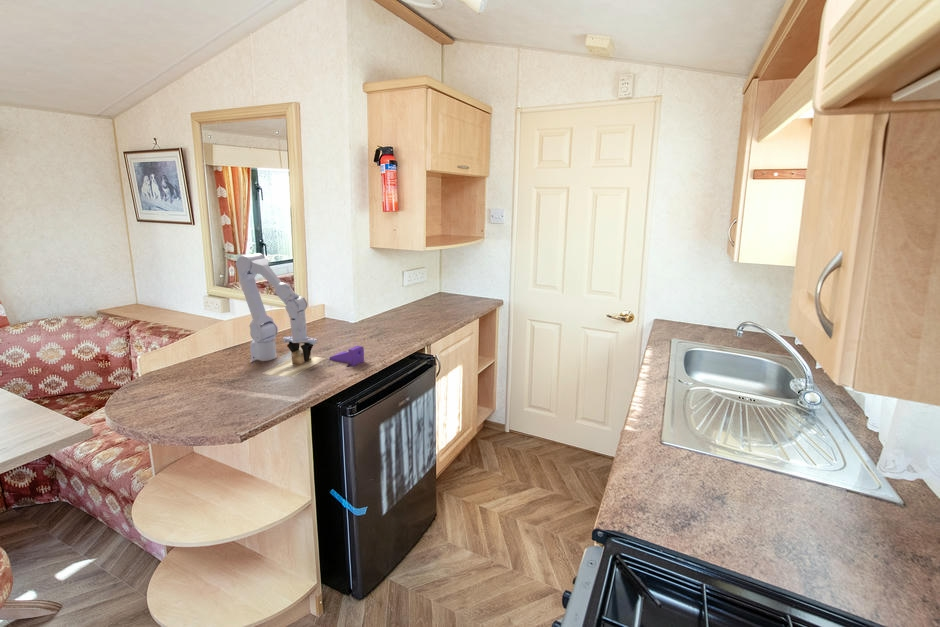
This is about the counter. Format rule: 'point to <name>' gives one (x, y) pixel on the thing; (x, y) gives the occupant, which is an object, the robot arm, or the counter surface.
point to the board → (292, 367)
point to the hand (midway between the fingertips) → (302, 360)
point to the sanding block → (299, 357)
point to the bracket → (350, 356)
